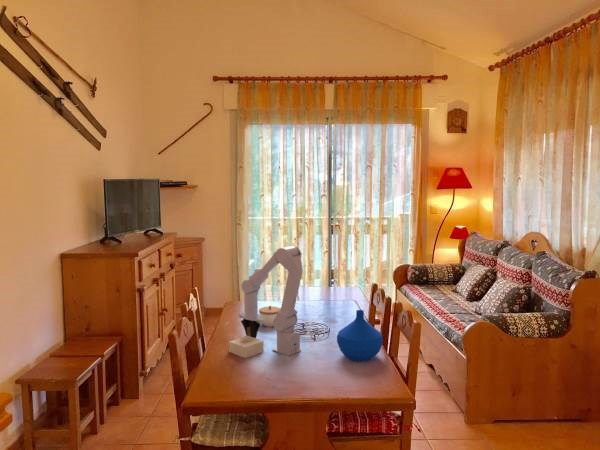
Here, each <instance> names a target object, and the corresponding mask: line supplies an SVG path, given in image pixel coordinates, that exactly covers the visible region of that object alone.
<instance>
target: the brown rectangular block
mask: <svg viewBox="0 0 600 450" xmlns="http://www.w3.org/2000/svg"><path fill="white" fill-rule="evenodd" d="M247 336H250V337H252V336H251V328H250V326H249V327H247ZM255 338H256V339H257V336H256V337H255Z"/></svg>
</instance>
